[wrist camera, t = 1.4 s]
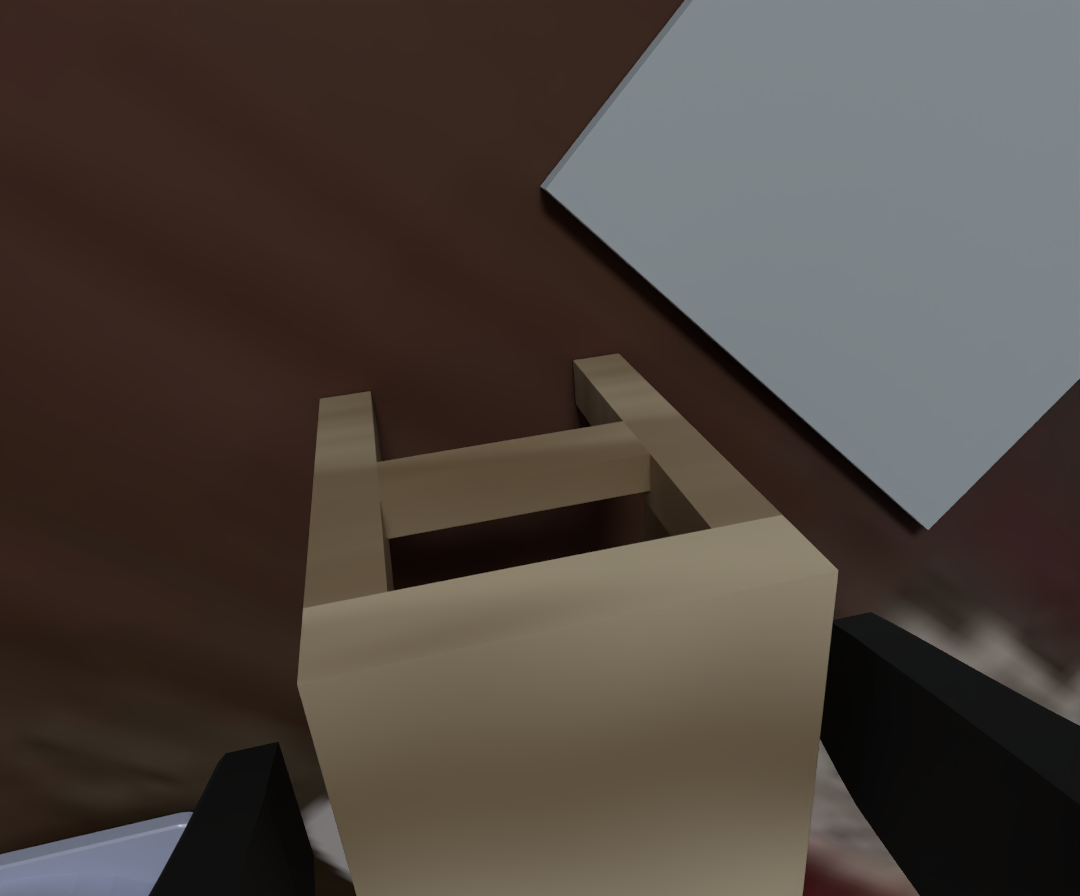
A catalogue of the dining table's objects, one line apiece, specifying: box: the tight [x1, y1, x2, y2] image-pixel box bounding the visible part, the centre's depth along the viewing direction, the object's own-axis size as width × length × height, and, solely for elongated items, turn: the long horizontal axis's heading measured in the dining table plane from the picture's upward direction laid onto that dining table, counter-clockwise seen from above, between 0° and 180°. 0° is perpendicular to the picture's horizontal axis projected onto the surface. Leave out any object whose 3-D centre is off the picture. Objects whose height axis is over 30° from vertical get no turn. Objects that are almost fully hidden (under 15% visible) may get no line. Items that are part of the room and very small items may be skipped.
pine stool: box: [297, 354, 838, 896], centre depth 12 cm, size 6×6×8 cm
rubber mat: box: [541, 0, 1080, 530], centre depth 14 cm, size 12×12×1 cm
